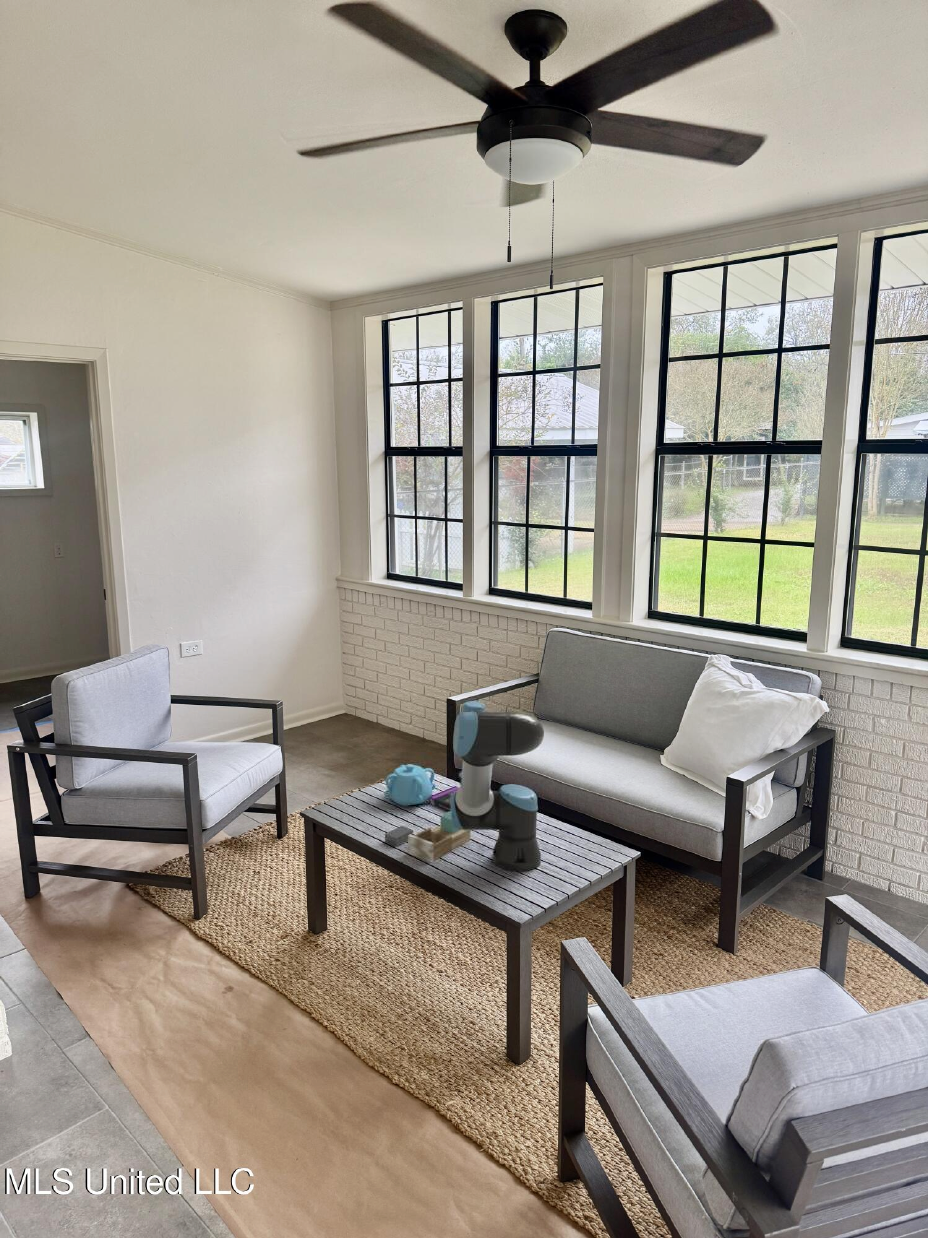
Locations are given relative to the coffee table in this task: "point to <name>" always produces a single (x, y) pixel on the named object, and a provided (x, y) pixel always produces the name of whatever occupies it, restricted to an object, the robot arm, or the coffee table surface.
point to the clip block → (447, 823)
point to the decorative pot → (409, 785)
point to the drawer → (435, 843)
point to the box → (443, 799)
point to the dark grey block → (398, 836)
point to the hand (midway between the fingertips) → (471, 815)
